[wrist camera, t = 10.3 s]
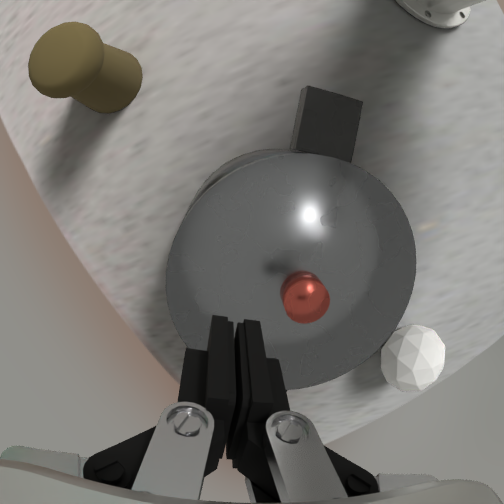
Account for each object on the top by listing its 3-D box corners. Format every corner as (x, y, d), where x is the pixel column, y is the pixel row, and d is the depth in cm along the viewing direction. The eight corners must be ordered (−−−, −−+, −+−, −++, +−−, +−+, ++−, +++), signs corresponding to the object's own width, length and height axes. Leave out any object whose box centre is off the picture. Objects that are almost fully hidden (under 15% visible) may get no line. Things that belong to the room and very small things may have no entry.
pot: (209, 89, 25) (201, 62, 16) (381, 130, 27) (445, 131, 18) (173, 336, 32) (160, 404, 23) (320, 352, 35) (348, 415, 25)
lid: (187, 129, 17) (182, 127, 14) (434, 187, 19) (457, 195, 16) (161, 368, 22) (156, 392, 19) (365, 383, 24) (376, 404, 21)
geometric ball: (399, 315, 37) (456, 318, 31) (398, 374, 37) (452, 382, 31) (366, 329, 33) (432, 335, 27) (366, 395, 33) (426, 409, 26)
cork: (90, 124, 25) (24, 120, 14) (74, 68, 23) (9, 41, 12) (150, 97, 25) (109, 72, 14) (133, 40, 23) (88, -7, 12)
